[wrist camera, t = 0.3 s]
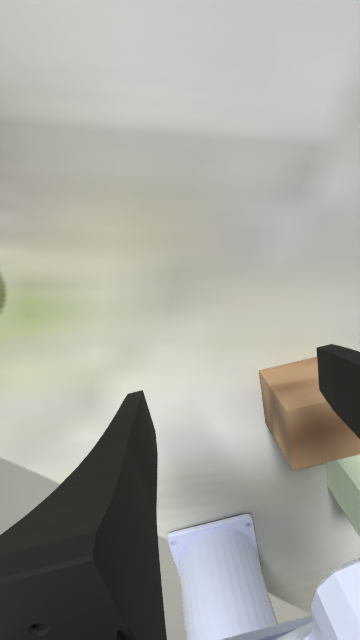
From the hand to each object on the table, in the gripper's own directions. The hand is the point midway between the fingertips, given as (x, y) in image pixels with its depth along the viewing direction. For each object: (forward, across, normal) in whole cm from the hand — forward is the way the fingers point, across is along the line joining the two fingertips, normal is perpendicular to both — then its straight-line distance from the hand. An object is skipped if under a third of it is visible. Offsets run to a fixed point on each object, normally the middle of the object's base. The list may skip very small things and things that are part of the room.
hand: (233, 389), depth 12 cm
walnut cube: (+10, -6, +8) cm, 14 cm away
